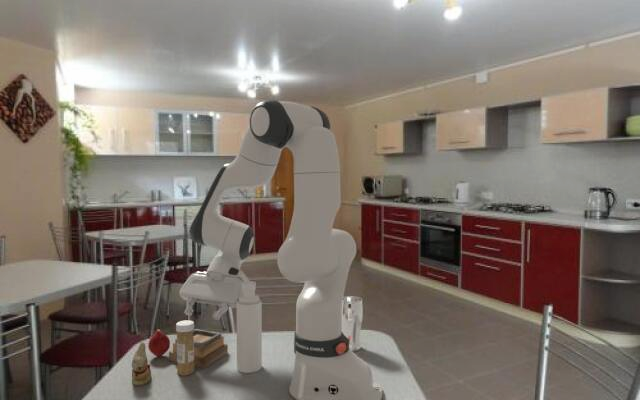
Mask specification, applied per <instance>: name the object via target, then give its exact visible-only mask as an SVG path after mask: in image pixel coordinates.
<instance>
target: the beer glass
mask: <svg viewBox="0 0 640 400" xmlns="http://www.w3.org/2000/svg"><path fill="white" fill-rule="evenodd" d="M363 310H364V309H363V299H362V298H361V297H360V296H355V295H347V296H343V302H342V332H343V334H344V335H345V336H346V337H347V338H348V337H349V336H351V338H350V339H351V341H350V342H349V349H350V350H351V351H352V352H357V351H360V350H361V348H362V346H361V338H360V336H361V329H362V323H363V313H364V312H363Z"/></svg>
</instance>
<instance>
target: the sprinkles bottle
mask: <svg viewBox="0 0 640 400" xmlns="http://www.w3.org/2000/svg"><path fill="white" fill-rule="evenodd" d="M194 330H195V323H194V321H193V320H190V319H189V320H180V321H178V322H177V323H176V324H175V331H176V339H177V362H176V363H177V364H176V365H177V370H176V373H177V374H178V376H179V375H180V376H189V375H192V374H194V372H195V366H194V337H193V331H194Z"/></svg>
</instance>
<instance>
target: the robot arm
mask: <svg viewBox="0 0 640 400" xmlns="http://www.w3.org/2000/svg"><path fill="white" fill-rule="evenodd" d="M284 148H287V149H288V150H290V152H291V154H292V156H293V189H294V190H293V191H294V192H293V194H294V195H293V196H294V197H293V199H294V201H293V202H294V203H293V213H292V217H291V223H290V225H289V229H288V233H287V235H286V237H285V240H284V242H283V243H282V244H281V246H279V249H278V252H277V256H276V257H277V258H276V261H277V263H276V264H277V267H278V269H279V272H280V273H281V275H282V276H283V277H284V278H285V279H286V280H288V281H290V282H292V283H304V285H303V288H302V290H301V292H300V294H299V295H298V297H297V300H296V304H295V305H296V306H295V307H296V309H295V311H296V313H295V317H296V318H295V320H296V321H295V322H296V323H295V331H294V337H293V351H294V355H295V357H294V364H293V365H294V366H293V373H292V376H291V382H290V385H289V388H288V390H289V393H290V395H291V397H293V399H295V400H382V398H383V388H382V386H381V384H379V383H378V382H375V381H374V380H373V372H372V370H371V367H370V365H369V364H368V363H366V362H365V361H364V360H363V359H362V358H360V357H359V356H358V355H357V354H356V353H354V351H351V350H350V349H349V342H350V341H351V339H350V338H351V336H349V337H348V338H347V337H346V336H345V335H344V334H343V332H342V302H343V297H344V294H345V291H346V284H347V280H348V278H349V277H348V276H349V272H350V268H351V266H352V263H353V261H354V259H355V257H356V254H357V243H356V241H355V239H354V237H353V235H352V234H351V233H349V232H348V231H346V230H342V229H340V228H339V229H338V228H333V225H334V222H335V218H336V215H337V213H338V212H339V210H340V209H341V202H342V201H341V199H342V196H341V173H340V172H341V167H340V166H341V165H340V156H339V150H338V144H337V140H336V136H335V134H334V133H333V131H332V130H331V123H330V119H329V117H328V115H327V114H326V113H325V111H323V110H322V109H319V108H318V107H314V106H308V105H305V104H301V103H298V102H293V101H283V100H282V101H281V100H280V101H278V100H275V99H268V100H263V101H261V102H258V103H257V104H256V105H255V106H254V107H253V108H252V111H251V113H250V117H249V125H248V126H247V128H246V131H245V132H244V135H243V136H242V140H241V143H240V146H239V148H238V152H237V154H236V157H235V158H234V159H233V161H232V162H229V163H225V164H223V166H222V167H221V168H220V170H219V171H218V172H217V174H216V176H215V177H214V179H213V181H212V183H211V185H210V187H209V189H208V191H207V193H206V196H205V197H204V200H203V201H202V203H201V205H200V208H199V210H198V212H197V213H196V215H195V216H194V217H193V219H192V220H191V223H190V226H189V230H188V231H189V235H190V237H191V239H192V241H193V242H194V243H195V244H197V245H201V246H205V247H209V248H212V249H214V250H217V253H216V255H215V256H214V257H213V258H212V260H211V261H210V262H209V263H210V264H209V266H208V267H207V270H206V271H199V270H198V271H195V272H192V273H191V274H190V276H189V277H188V278H187V279H186V281H185V282H184V283H183V285H182V287H181V288H180V290H179V292H178V293H179V296H180V298H182V300H184V301H186V302H185V303H186V306H185V307H186V308H185V309H184V314H185V315H186V316H192V315H193V313H194V311H195V310H194V309H193V308H192V306H194V305H195V303H200V304H207V305H213V306H220V307H219V308H218V310H217V311H216V310H214V312H213V314H212V316H211V317H212V319H213V320H215V321H219V320H221V318H222V315H224V314H225V313H226V312H227V311H228V310H229V308H233V309H237V299H238V298H239V297H240V296H242V295H243V290H242V283H243V282H246V281H250V280H249V278H248V276H247V275H246V274H245V272H244V271H243V270H241V267H242V264H243V263H245V260H246V259H247V258H249V256H250V254H251V252H252V250H253V247H254V245H255V243H256V235H255V232H254V231H253V228H252V226H249V225H248V224H246V223H243V222H241V221H238V220H234V219H231V218H229V217H225V216H223V215H220V214H219V213H218V212H217V209H218V207H219V204H220V203H221V201H222V199H223V196H224V195H225V192H226V191H227V190H228V191H229V190H231V189H255V188H260V187H262V186H264V185H267V184H268V183H269V182H270V181H271V180H272V179H273V176H274V175H275V172H276V170H277V167H278V164H279V161H280V157H281V155H282V151H283V149H284Z"/></svg>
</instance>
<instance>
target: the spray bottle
mask: <svg viewBox="0 0 640 400" xmlns="http://www.w3.org/2000/svg"><path fill="white" fill-rule="evenodd" d="M242 290H243V295H242V296H240V297H239V298H238V299H237V308H236V369H237V371H238V372H239V373H245V374H250V373H256V372H258V371H260V370H261V369H262V365H263V359H262V358H263V356H262V355H263V352H262V351H263V350H262V349H263V347H262V346H263V344H262V343H263V342H262V340H263V339H262V338H263V335H262V333H263V328H262V324H263V323H262V322H263V321H262V319H263V318H262V317H263V316H262V313H263V312H262V308H263V307H262V304H263V303H262V298H261V297H260V296H259V295H257V294H255V293H256V292H255V291H256V290H257V285H256V281H252V280H249V281H246V282H243V283H242Z"/></svg>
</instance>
